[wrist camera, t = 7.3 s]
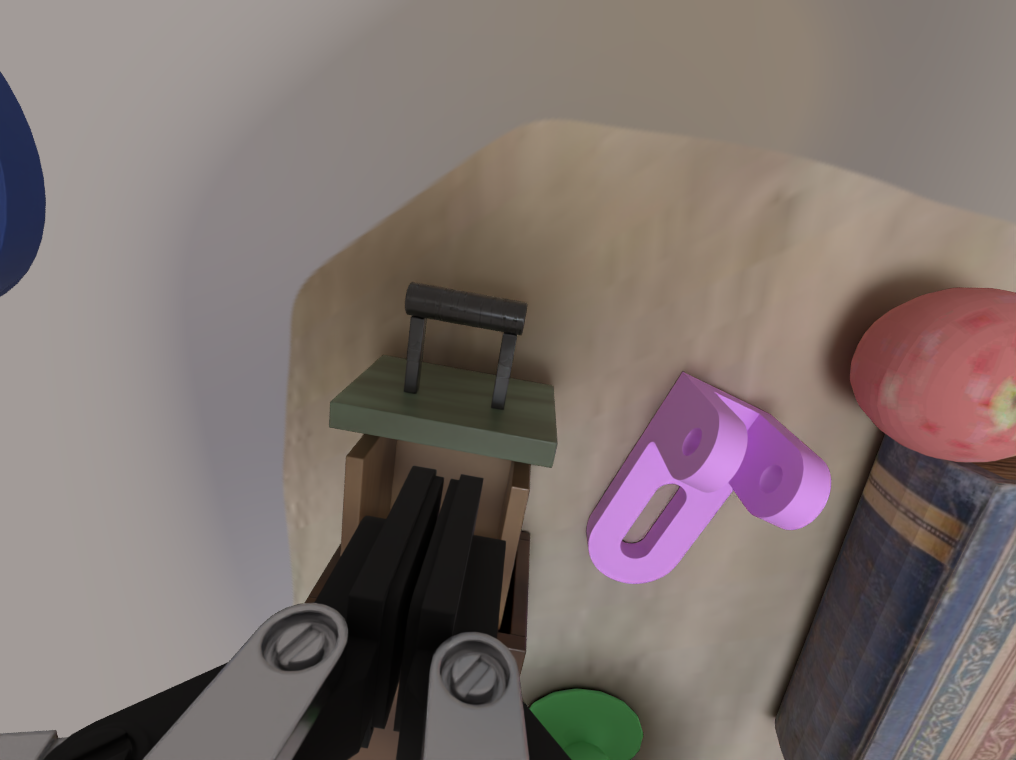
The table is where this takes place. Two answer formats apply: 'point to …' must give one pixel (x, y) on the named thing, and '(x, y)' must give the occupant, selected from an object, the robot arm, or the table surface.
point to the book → (914, 621)
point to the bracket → (702, 479)
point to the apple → (943, 374)
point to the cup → (590, 724)
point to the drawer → (448, 421)
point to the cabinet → (511, 634)
